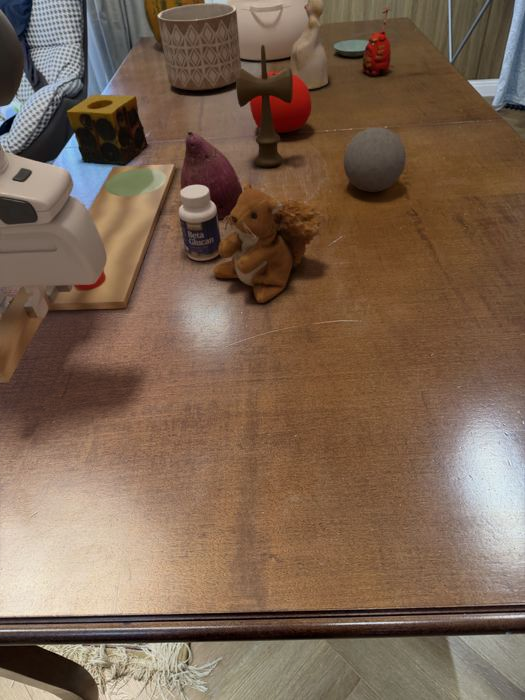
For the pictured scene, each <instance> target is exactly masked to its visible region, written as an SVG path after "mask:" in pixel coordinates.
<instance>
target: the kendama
mask: <svg viewBox="0 0 525 700" xmlns="http://www.w3.org/2000/svg"><path fill="white" fill-rule="evenodd" d="M267 67H268V66H267V61H266V55H265V47H264V45H262V46H261V61H260V69H261V72H260V73H261V75H262V78H259V77H260V76H261V75H260V76H256V75H253V74H251V73H250V72H248V71H247V70H245V69H244V68H242V67H241V68H238V70H237V75H236V82H235V85H236V87H235V89H236V97H237V98H236V99H237V103H238V105H239V107H240V108H243V107H245V106H246V105H247V104H248V103H250V101H251V100H252V99H254V98H255V97H257V96H262V109H261V124H260V128H259V131H258V134H257V136H255V143H257V145H258V154H257V155H256V157H255V164H256V165H258V166H260V167H264V168H270V167H276V166H278V165H280V164H281V163H282V162H283V157H282V155H281V154H280V153H279V152H278V143H279V142H280V140H281V135H279V133H276V132H275V129H274V124H273V119H272V113H271V107H270V99H269V96H274V97H277V98H279V99H281V100H282V101H284V102H286V103H291V101H292V95H293V78H292V71H291V68H290V66H287V67H285V68H284V69H282V70H280V71H281V72H279V73H278V74H276V75H274V76H271V77H267V73H268V68H267Z"/></svg>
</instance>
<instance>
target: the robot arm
mask: <svg viewBox="0 0 525 700" xmlns="http://www.w3.org/2000/svg"><path fill="white" fill-rule="evenodd" d="M24 70H25V55H24V50H23V46H22V43H21V41H20V39H19V37H18V34H17V32H16V30H15V29H14V27H13V25H12V23H11V22H10V20H9V19H8V17H7V15H6V14H5V13H4V12H3V10H2V9H0V108H2V107H5V106H9V105H11V103H12V102H13V101H14V99H15V97H16V95H17V93H18V91H19V89H20V86H21V84H22V80H23V76H24ZM70 173H71V172H69V171H68V170H67V169H66V168H63V167H61V166H57V165H54V164H49V163H45V162H42V161H37V160H34V159H30V158H26V157H23V156H20V155H17V154H14V153H11V152H8V151H4V148H3V146H2V144H1V143H0V288H21V287H24V288H25V290H26V292H27V293H28V294H29V293H33V296H29V298H28V302H26V303H25V305H24V306H23V307H24V309H25V311H26V312H27V313H28V316H29V318H43V319H44V318H45V317H47V316H46V315H47V314H48V312H49V310H48V305H47V303H46V301H45V299H44V294H45V290H46V286H60V285H90V284H94V283H96V281H97V280H98V278H99V277H100V275H101V274H102V272H103V270H104V267H105V265H106V261H107V255H106V251H105V248H104V245H103V242H102V240H101V237H100V235H99V232H98V230H97V228H96V225H95V223H94V221H93V219H92V217H91V215H90V213H89V211H88V210H89V209H87V207H86V206H85V204H83V202H82V201H81V200H79V198H76V197H74V196H73V195H71V193H72V192H73V189H74V181H73V178H72V175H71V174H70ZM14 297H15V296H6V295H5V294H4V292H2V291H0V319H1V318H2V316H3V314H4V313H5V311H6V310H7V308H8V307H9V305H10V303H11V302H12V300H13V299H14Z"/></svg>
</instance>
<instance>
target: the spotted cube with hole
mask: <svg viewBox="0 0 525 700" xmlns="http://www.w3.org/2000/svg"><path fill="white" fill-rule="evenodd" d="M66 113H67V114H66V115H67V117H68V120H69V121H68V122H69V123H70V127H71V129H72V131H73V133H74V137H75V140H76V142H77V145H78V151H79V154H80V156H81V160H82V161H83V162H87V163H99V164H113V165H126V164H127V163H129V162H130V161H131V160H133V158H135V157H136V156H137V155H138V154H139V153H140V152H141V151H142V150H143V149H144V148H146V147H148V145H149V144H148V141H147V138H146V134H145V127H144V126H143V124H142V122H141V119H140V117H139V107H138V98H137V96H136V95H124V94H123V95H118V94H117V95H116V94H91V95H90V96H89V97H87V98H85V99H83V100H82V101H81V102H79V103H77V104H76V105H74V106H73V107H72V108H70V109H68V110H67V111H66Z"/></svg>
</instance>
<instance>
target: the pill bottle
mask: <svg viewBox="0 0 525 700" xmlns="http://www.w3.org/2000/svg"><path fill="white" fill-rule="evenodd" d="M179 194H180V195H179V196H180V201H181V205H180V206H179V208H178V217H179V222H180V228H181V233H182V234H181V235H182V238H183V239H182V240H183V244H184V249H185V253H186V256H187V257H188V258H189V259H192V260H194V261H197V262H198V261H199V262H204V261H209V260H213V259H215V258H217V257H218V256H220V253H219V250H218V248H219V244H220V242H221V241H222V239H221V232H220V224H219V220H218V216H217V208H216V205H215V204H214V203H213V202H212V201H210V193H209V189H208V188H207V187H206V186H203V185H190V186H187V187H185V188H183V189H182V190H180V192H179Z"/></svg>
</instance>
